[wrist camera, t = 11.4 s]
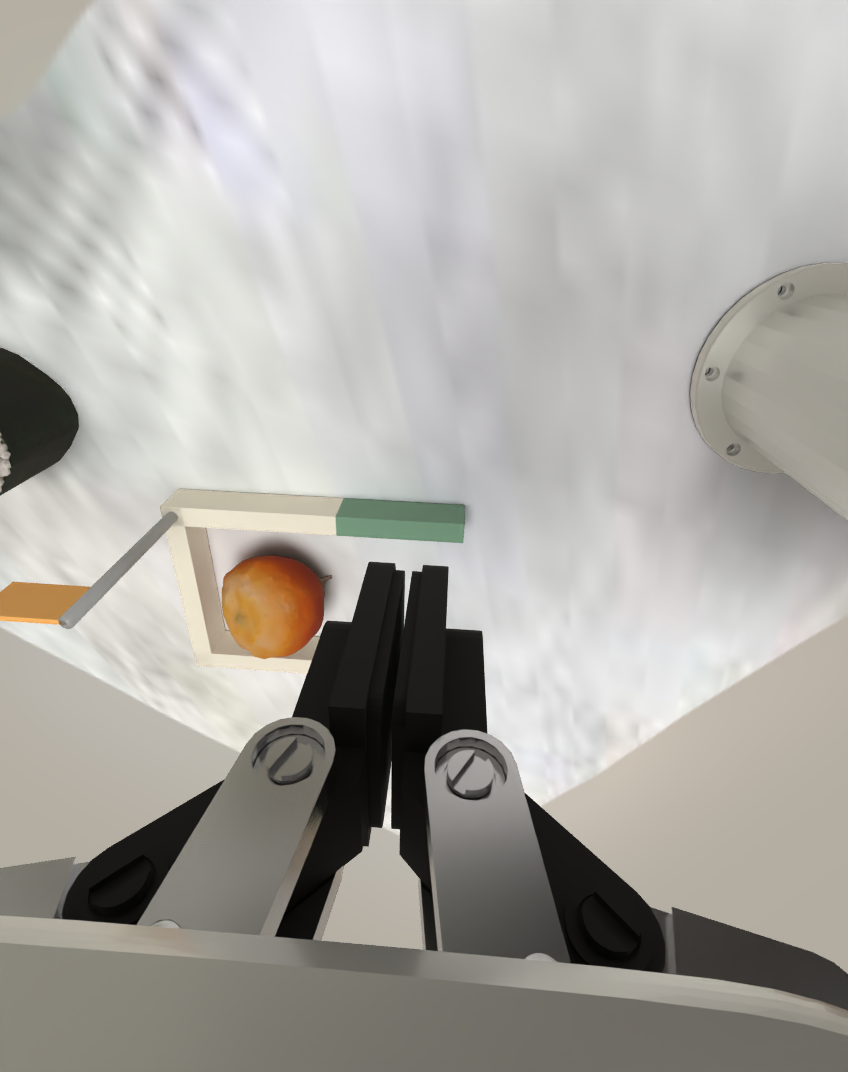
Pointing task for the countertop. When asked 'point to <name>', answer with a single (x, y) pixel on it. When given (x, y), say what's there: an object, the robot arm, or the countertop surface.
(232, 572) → the fruit
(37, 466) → the sushi
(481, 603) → the countertop surface
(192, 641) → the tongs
